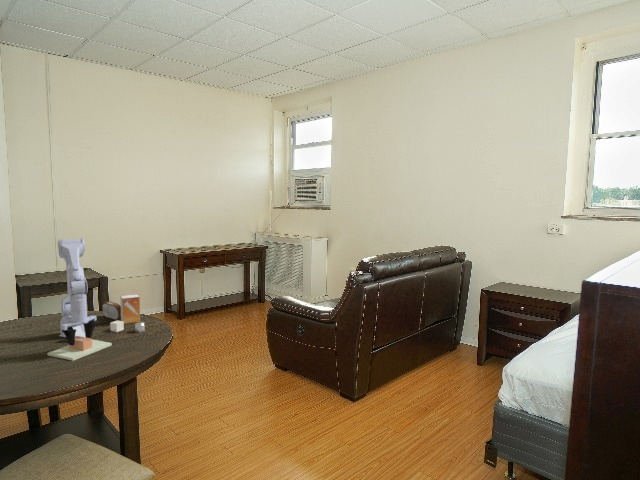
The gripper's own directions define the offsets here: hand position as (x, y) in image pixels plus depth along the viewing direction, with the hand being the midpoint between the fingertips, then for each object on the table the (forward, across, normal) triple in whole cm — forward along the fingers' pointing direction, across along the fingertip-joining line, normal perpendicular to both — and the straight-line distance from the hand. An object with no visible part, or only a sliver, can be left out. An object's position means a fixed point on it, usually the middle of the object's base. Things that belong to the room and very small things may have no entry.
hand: (80, 342), depth 169 cm
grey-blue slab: (+1, +8, +12) cm, 15 cm away
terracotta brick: (+2, 0, 0) cm, 2 cm away
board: (+3, 0, 0) cm, 3 cm away
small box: (+4, +38, +12) cm, 40 cm away
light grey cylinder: (+3, +28, -4) cm, 28 cm away
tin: (+4, +38, +24) cm, 45 cm away
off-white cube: (+3, +25, +7) cm, 26 cm away
